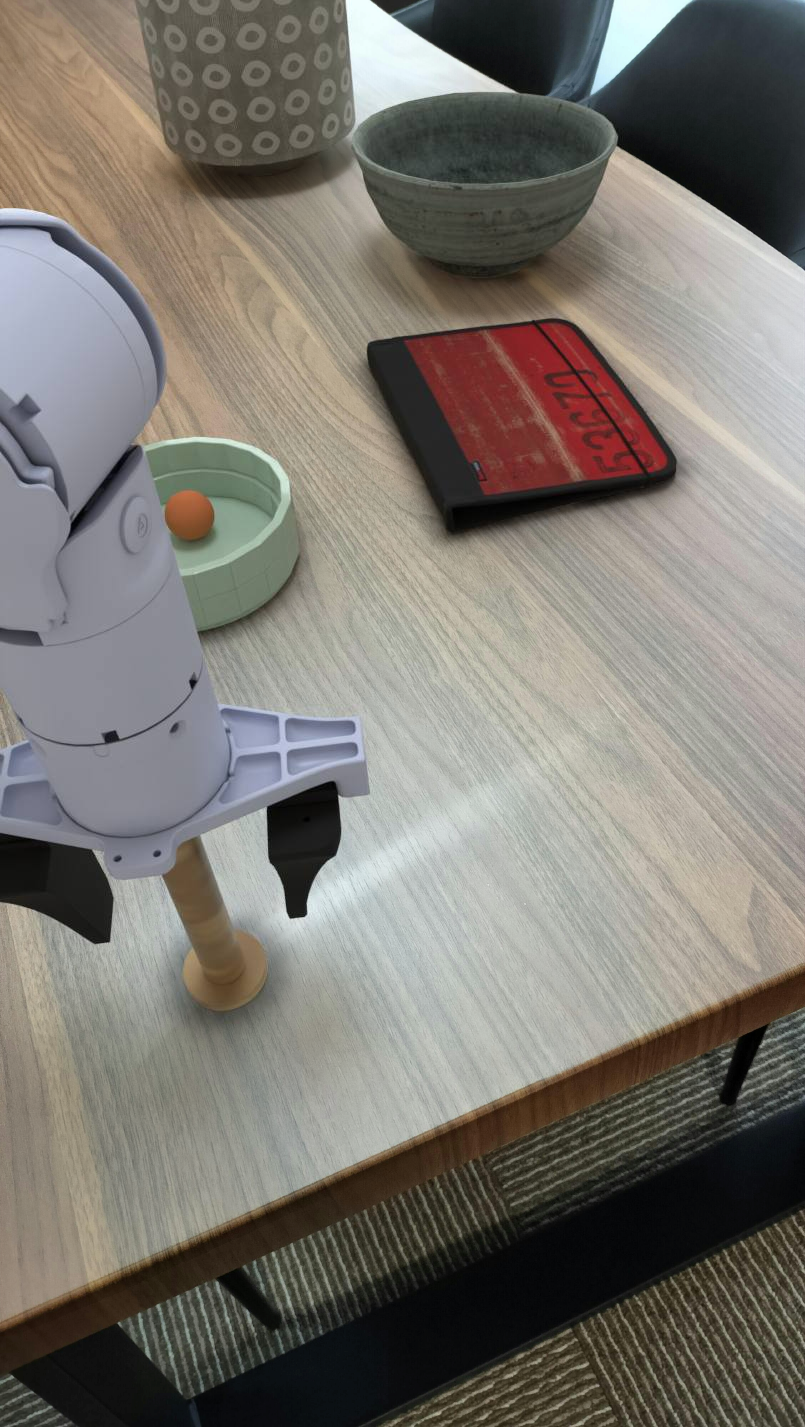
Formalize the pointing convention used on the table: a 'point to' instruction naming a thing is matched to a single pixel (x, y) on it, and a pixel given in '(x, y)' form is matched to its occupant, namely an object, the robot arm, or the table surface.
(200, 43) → the planter
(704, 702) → the table surface
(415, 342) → the notebook
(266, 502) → the mixing bowl
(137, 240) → the table surface
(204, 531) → the ball
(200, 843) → the stick
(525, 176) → the bowl
